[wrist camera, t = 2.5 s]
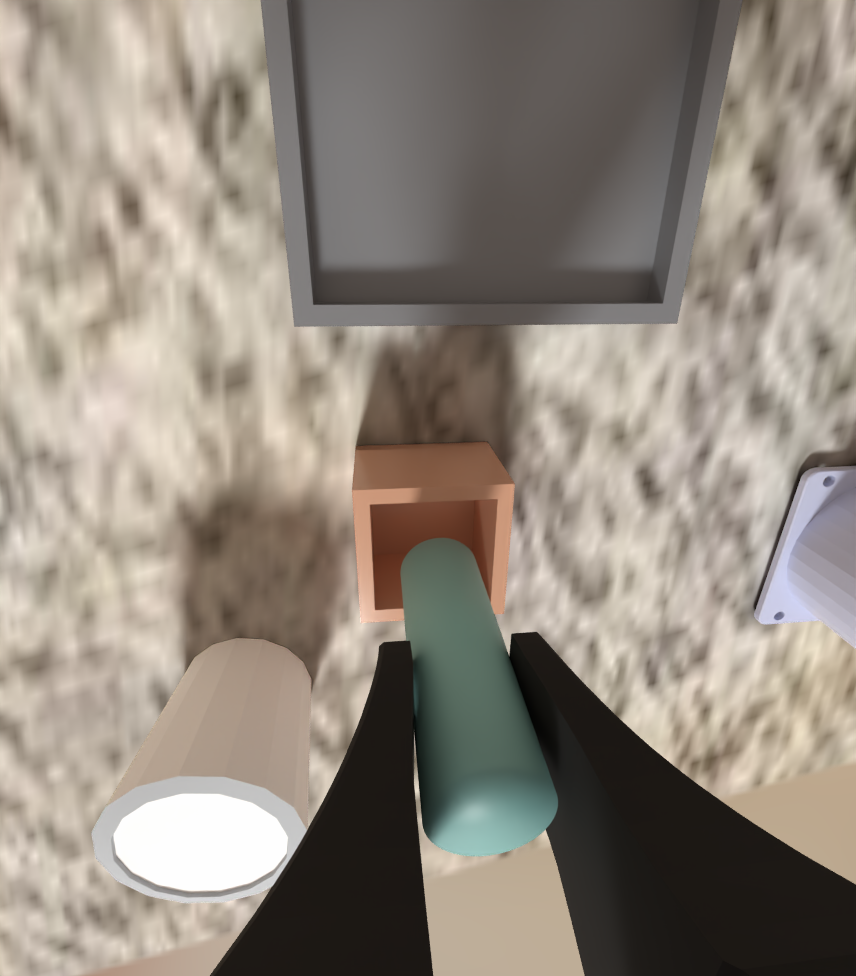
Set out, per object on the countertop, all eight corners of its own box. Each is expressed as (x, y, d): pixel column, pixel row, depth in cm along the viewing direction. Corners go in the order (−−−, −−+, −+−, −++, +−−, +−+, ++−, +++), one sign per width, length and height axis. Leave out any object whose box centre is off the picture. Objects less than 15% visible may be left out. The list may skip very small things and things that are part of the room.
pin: (478, 535, 15) (565, 760, 8) (475, 600, 16) (550, 848, 9) (399, 539, 15) (421, 774, 8) (401, 604, 16) (421, 863, 9)
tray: (713, -69, 14) (766, -120, 12) (645, 317, 18) (677, 323, 16) (262, -102, 12) (243, -165, 11) (302, 319, 16) (294, 326, 15)
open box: (487, 441, 19) (514, 483, 15) (481, 553, 21) (503, 613, 17) (355, 445, 18) (352, 490, 15) (362, 559, 21) (360, 623, 17)
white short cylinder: (151, 634, 21) (57, 794, 15) (315, 618, 22) (291, 766, 15) (189, 745, 24) (124, 920, 18) (333, 729, 24) (319, 893, 18)
